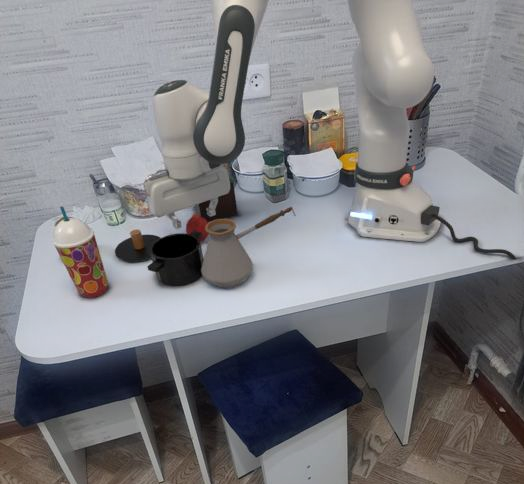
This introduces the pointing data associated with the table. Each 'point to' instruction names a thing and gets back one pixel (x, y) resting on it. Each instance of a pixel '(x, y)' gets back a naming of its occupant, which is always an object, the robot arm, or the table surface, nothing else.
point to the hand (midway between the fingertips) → (194, 221)
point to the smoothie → (80, 256)
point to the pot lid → (136, 247)
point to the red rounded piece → (197, 226)
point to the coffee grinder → (220, 206)
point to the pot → (177, 259)
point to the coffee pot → (229, 252)
